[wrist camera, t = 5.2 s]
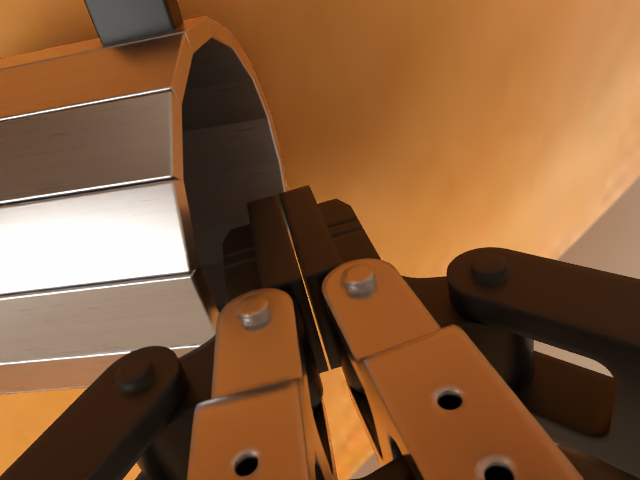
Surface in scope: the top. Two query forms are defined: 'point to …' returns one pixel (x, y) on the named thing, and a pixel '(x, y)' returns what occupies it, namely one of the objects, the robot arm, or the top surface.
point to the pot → (124, 190)
